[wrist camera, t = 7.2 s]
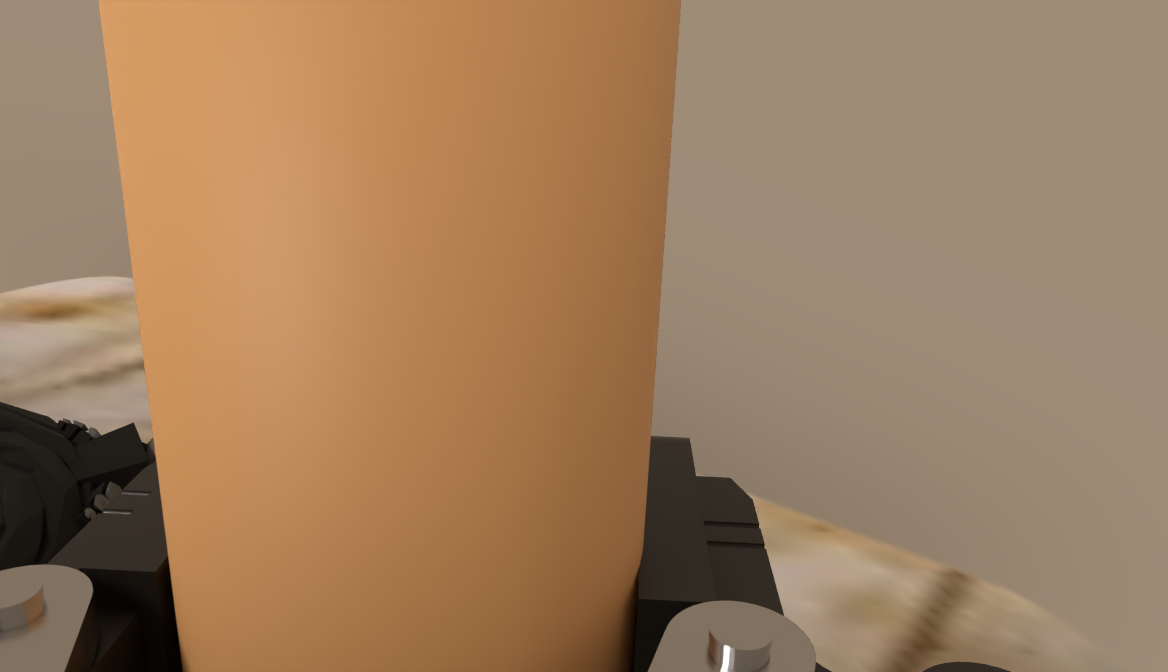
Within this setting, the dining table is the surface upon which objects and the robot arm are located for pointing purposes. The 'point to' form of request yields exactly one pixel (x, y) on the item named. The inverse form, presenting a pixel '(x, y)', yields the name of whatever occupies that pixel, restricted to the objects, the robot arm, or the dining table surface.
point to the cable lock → (58, 480)
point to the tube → (398, 321)
